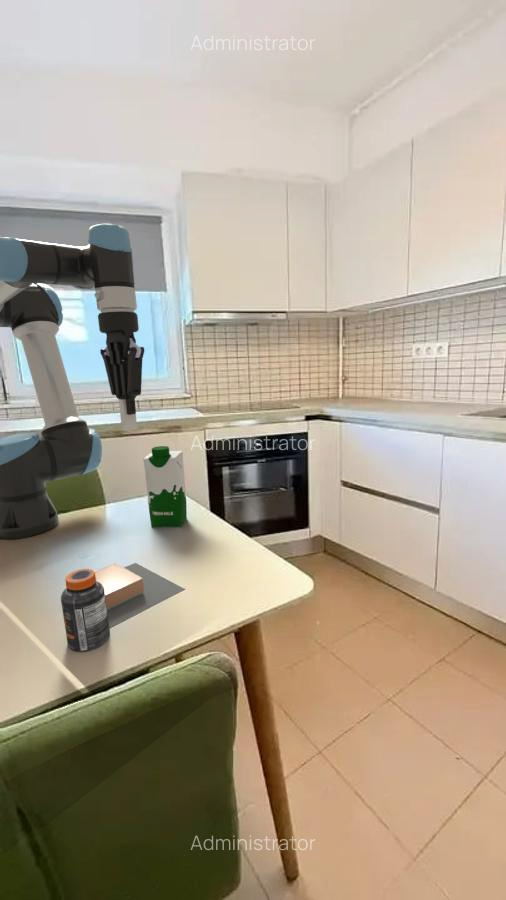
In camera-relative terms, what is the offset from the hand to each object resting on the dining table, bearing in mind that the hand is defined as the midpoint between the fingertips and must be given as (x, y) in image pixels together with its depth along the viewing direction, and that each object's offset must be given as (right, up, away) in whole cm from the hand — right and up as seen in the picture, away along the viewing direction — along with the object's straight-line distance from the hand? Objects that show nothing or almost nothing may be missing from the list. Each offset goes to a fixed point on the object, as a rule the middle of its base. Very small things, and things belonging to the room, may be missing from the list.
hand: (129, 429), depth 93 cm
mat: (+3, -30, -14) cm, 33 cm away
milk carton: (+5, -23, +18) cm, 30 cm away
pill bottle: (+1, -33, -27) cm, 43 cm away
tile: (+3, -27, -12) cm, 30 cm away
